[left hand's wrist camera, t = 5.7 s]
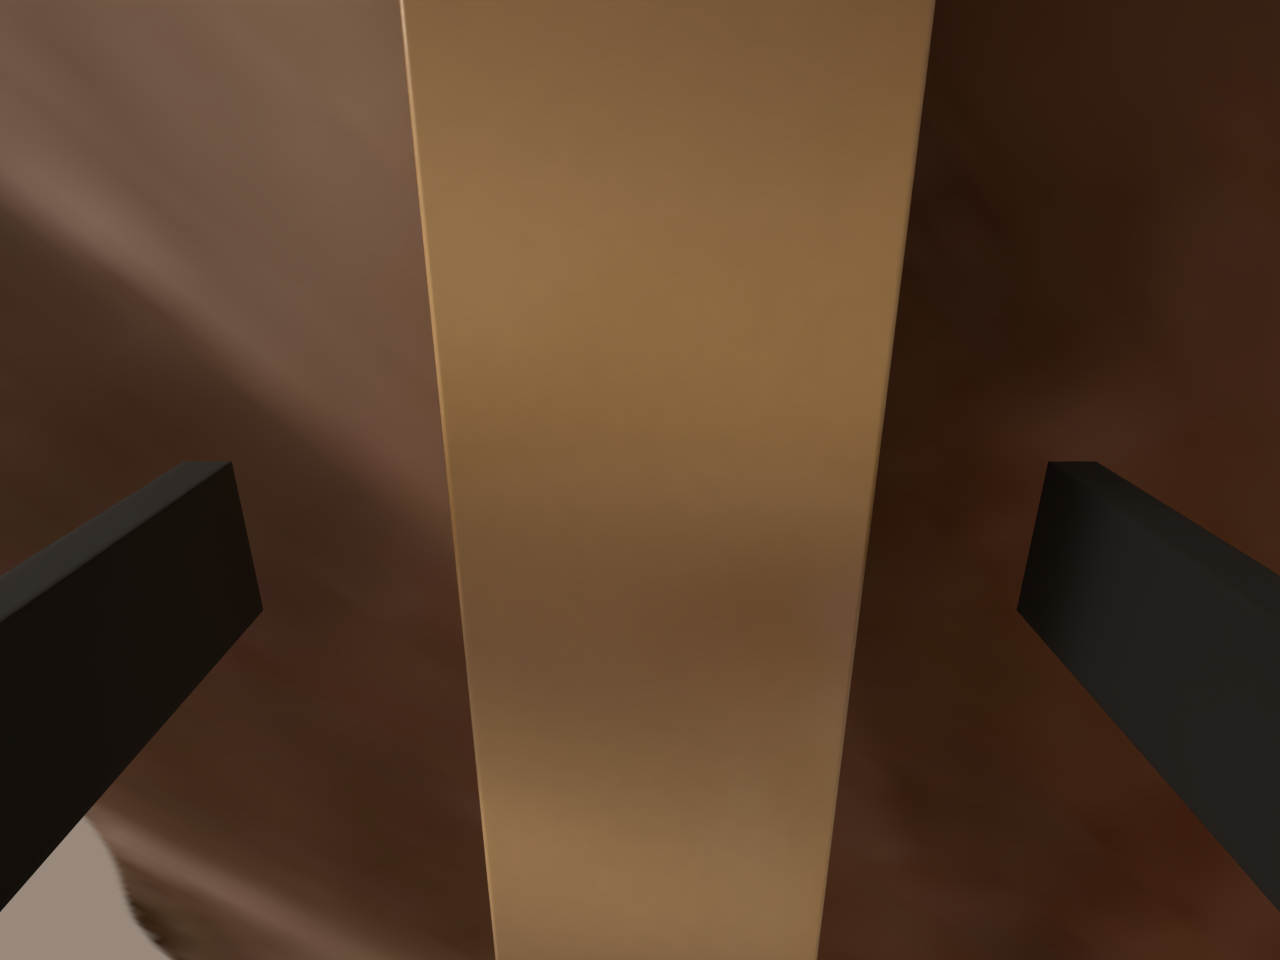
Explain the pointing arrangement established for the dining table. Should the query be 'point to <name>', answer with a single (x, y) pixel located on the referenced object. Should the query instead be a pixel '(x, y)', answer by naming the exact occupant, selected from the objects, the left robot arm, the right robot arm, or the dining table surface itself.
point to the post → (662, 439)
